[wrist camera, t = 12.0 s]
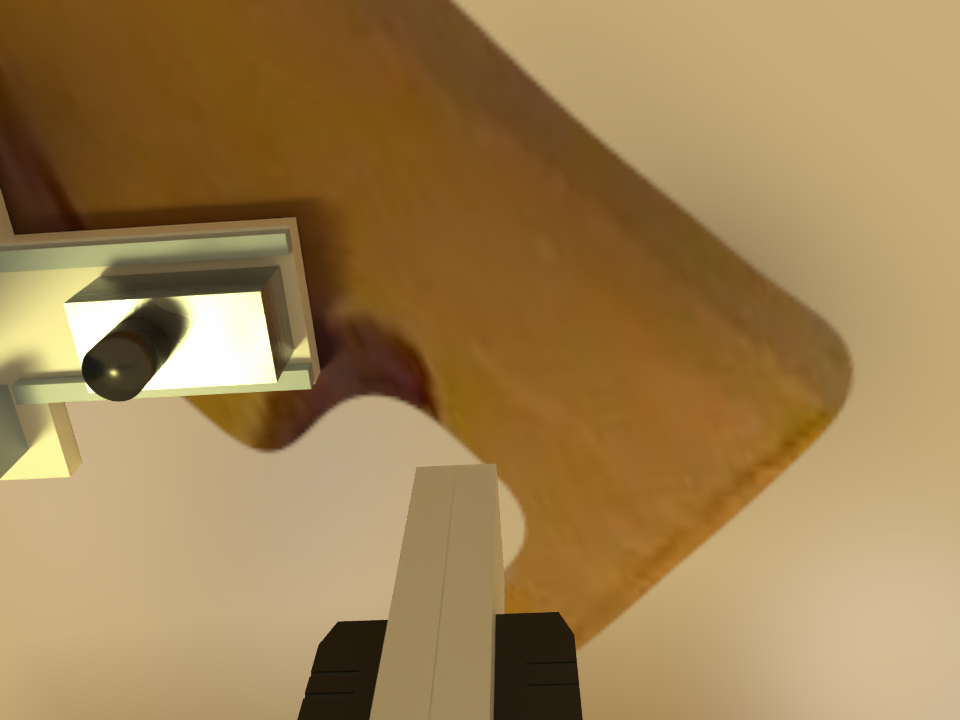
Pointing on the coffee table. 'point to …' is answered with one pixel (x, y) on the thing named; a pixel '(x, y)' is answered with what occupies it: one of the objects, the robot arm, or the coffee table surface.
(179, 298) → the bar
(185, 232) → the dock station
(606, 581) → the coffee table surface
